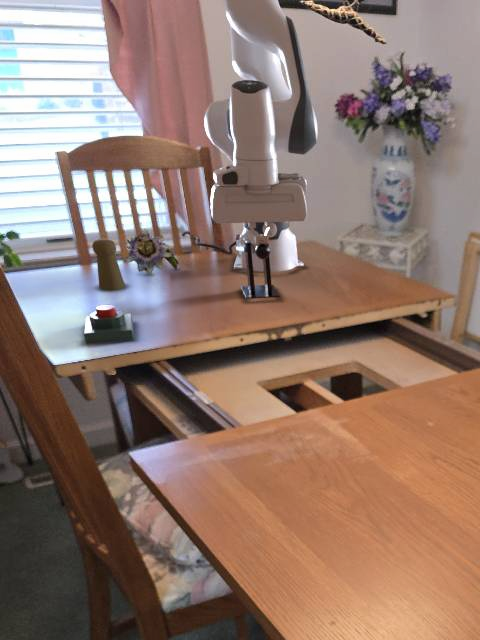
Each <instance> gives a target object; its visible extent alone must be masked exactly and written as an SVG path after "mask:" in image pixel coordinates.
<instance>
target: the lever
mask: <svg viewBox="0 0 480 640" xmlns="http://www.w3.org/2000/svg"><path fill="white" fill-rule="evenodd" d="M251 250H252V254H256V255H257V257H258V258H260V259H266V258H268V257H269V255H270V249H269V247H268V246H267V245H265V244H259V245H256V244H255V242H251Z"/></svg>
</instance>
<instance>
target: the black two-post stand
mask: <svg viewBox="0 0 480 640" xmlns="http://www.w3.org/2000/svg"><path fill="white" fill-rule="evenodd" d="M244 244H245V245H244V246H243V249H244V252H245V255H246V266H247V269H246V276H247V285H243V286H242V285H241V286H240V289H241V290H242V293H243V295H244V297H245V299H246V300H248V299H250V300H251V299H265V298H281V295H280V293H279V292H278V290H277V288H276V286H275V285H274V284H272V275H271V274H272V272H271V271H270V258H269V257H268V258H266V259H263V267H264V272H263V278H264V285H263V284H262V285H261V284H260V285H255V275H254V273H255V272H254V271H253V262H252V250H251V242H250V241H249V239H248V238H244ZM265 245H267V246H268V247H269V249H270V245H269V244H265Z"/></svg>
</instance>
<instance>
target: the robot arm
mask: <svg viewBox="0 0 480 640" xmlns="http://www.w3.org/2000/svg"><path fill="white" fill-rule="evenodd" d="M223 3H224V10H225V15H226V19H227V20H228V22H229V33H230V45H231V46H230V47H231V50H230V51H231V63H232V64H231V65H232V67H233V70H234V72H235V73H236V74H237V76H239V77H240V78H241V79H242V80H238V81H234V82H233V83H232V84H231V86H230V91H229V93H230V95H229V98H227V99H220V100H215V101H211V103H210V104H209V105H208V107H207V109H206V110H205V114H204V130H205V132H206V136H207V137H208V139H209V140H210V142H211V143H212V144H213V146H215V147H216V148H217V149H218V150H219V151H220V152H222V153H223V154H224V155H225V156H226V157H227V159H228V160H229V162H230V163H231V164H229V165H226V166H223V167H219V168H217V169H215V170H214V171H213V175H212V176H213V177H212V178H213V180H214V182H215V183H214V184H213V185H212V187H211V192H210V215H211V218H212V220H213V221H214V222H215V224H242V227H243V231H242V232H241V234H236V235H235V241H233V242H231V243H230V244H229V245H228V249H226V248H224V247H222V246H220V245H216V244H211V243H203V242H199V241H200V237H199V236H198V235H196V236H194V235H191V234H190V232H191V231H189V230H184V231H183V232H182V233H181V237H185V235H190V236H192V237H193V238H194V239H195V242H194V243H195V244H196V245H198V246H200V247H205V248H212V249H217V250H220V251H221V252H224V253H227V254H232V253H233V252H234V251H233V247H234V246H235V248H236V251H238V253H237V255H236V257H235V262H234V264H233V270H237V269H239V270H240V269H244V270H247V266H246V255H245V252H244V249H243V246H244V245H245V244H244V238H248V239H249V241H250V242H255V244H256V245H259V244H269V245H270V255H269V258H270V271H271V273H279V272H285V271H289V270H293V269H295V268H296V267H304V266H305V263H304V262H302V261H301V260H299V259H298V249H297V238H296V235H295V234H294V232H292V231H291V230H290V222H291V223H293V222H305V221H306V219H307V218H308V209H307V202H306V197H305V196H306V194H307V189H308V188H307V180H306V179H305V177H304V176H302V175H300V174H299V173H296V172H295V173H283V172H282V173H281V172H280V173H279V168H278V167H279V165H278V155H277V153H289V154H294V155H306V154H307V153H308V152H309V151H311V150H312V149H313V148H314V147H315V146H316V144H317V141H318V135H319V128H318V127H319V126H318V121H317V117H316V113H315V110H314V107H313V104H312V101H311V100H312V99H311V95H310V91H309V85H308V81H307V76H306V70H305V66H304V59H303V56H302V55H303V54H302V51H301V50H302V49H301V47H300V46H301V45H300V42H299V37H298V33H297V29H296V26H295V24H294V22H293V19H292V18H291V17H289V16H287V15H286V14H285V13H284V11H283V10H282V8H281V6H280V2H279V0H223ZM281 62H282V63H283V66H284V69H285V74H286V79H287V83H286V80H285V78H284V75H283V70H282V64H281ZM287 84H288V85H287ZM252 262H253V272H260V273H264V267H263V259H260V258H258V257H257V255H256V254H252Z"/></svg>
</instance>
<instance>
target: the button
mask: <svg viewBox="0 0 480 640" xmlns="http://www.w3.org/2000/svg"><path fill="white" fill-rule="evenodd" d="M115 310H116V308H115V305H113V304H101V305H97V306H96V307H95V311H96V312H97V317H100V318H107V317H113V316H116V312H115Z"/></svg>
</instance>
